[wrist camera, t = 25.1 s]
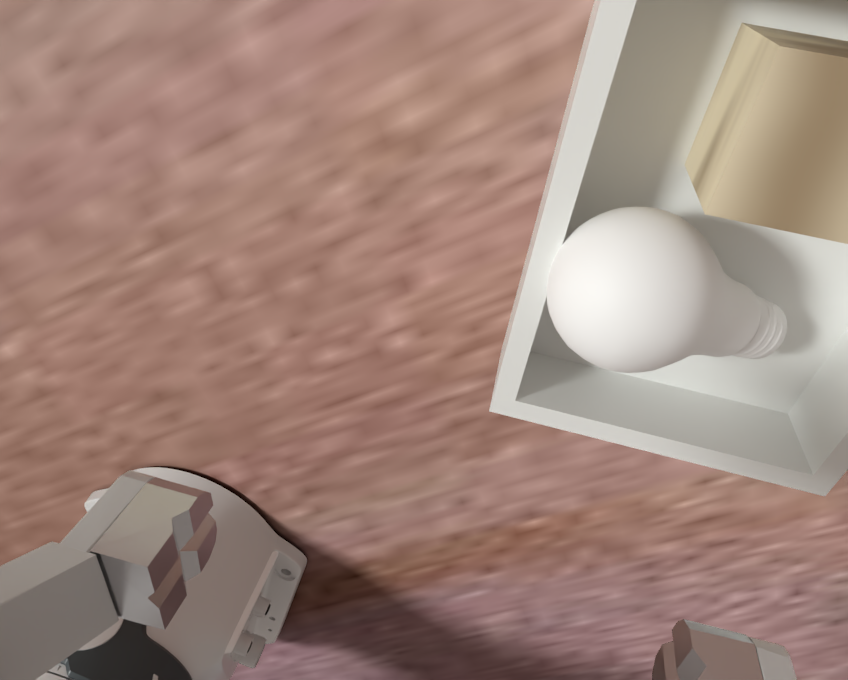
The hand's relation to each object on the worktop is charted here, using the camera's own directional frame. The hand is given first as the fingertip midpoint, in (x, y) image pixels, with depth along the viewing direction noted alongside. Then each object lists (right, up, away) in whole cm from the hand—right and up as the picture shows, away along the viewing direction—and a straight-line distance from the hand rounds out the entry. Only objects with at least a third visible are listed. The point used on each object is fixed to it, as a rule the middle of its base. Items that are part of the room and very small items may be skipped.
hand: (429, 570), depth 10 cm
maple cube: (+13, +12, +11) cm, 21 cm away
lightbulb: (+15, +4, +15) cm, 22 cm away
